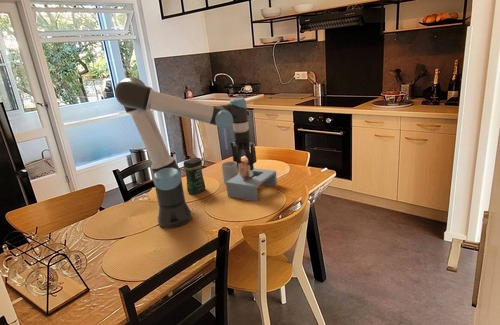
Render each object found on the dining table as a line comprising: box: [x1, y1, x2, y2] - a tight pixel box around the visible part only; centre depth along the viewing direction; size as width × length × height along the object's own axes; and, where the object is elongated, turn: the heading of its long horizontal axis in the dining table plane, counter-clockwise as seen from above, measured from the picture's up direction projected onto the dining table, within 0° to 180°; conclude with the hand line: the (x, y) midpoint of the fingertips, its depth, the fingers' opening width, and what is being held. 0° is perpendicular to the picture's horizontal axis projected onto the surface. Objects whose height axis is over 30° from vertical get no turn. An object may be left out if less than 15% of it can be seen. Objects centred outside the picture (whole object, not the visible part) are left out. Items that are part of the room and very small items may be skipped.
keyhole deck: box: [225, 167, 278, 202], centre depth 175 cm, size 22×17×8 cm
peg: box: [240, 159, 252, 181], centre depth 170 cm, size 5×5×15 cm
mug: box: [221, 160, 239, 185], centre depth 191 cm, size 12×8×11 cm
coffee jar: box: [183, 156, 206, 195], centre depth 181 cm, size 10×8×19 cm
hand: (246, 175), depth 170 cm, fingers closed on peg, 5 cm apart
